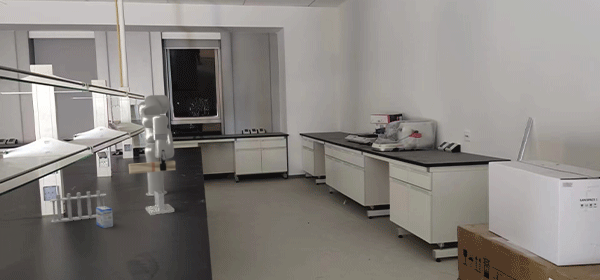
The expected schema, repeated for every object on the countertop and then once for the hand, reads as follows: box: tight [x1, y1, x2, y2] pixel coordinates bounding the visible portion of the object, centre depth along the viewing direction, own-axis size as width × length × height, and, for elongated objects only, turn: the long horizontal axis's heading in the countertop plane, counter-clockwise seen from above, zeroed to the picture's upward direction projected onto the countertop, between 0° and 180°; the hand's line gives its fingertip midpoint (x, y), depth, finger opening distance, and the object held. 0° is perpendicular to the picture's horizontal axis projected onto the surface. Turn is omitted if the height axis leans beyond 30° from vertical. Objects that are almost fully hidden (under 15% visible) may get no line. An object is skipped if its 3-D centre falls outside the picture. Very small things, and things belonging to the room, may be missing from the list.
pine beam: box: [128, 160, 177, 175], centre depth 241 cm, size 4×24×5 cm, turn 120°
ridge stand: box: [145, 190, 175, 216], centre depth 230 cm, size 14×12×10 cm
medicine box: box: [95, 205, 114, 229], centre depth 203 cm, size 8×4×9 cm, turn 47°
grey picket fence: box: [49, 190, 107, 224], centre depth 217 cm, size 25×4×13 cm, turn 116°
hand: (162, 169), depth 243 cm, fingers closed on pine beam, 4 cm apart
